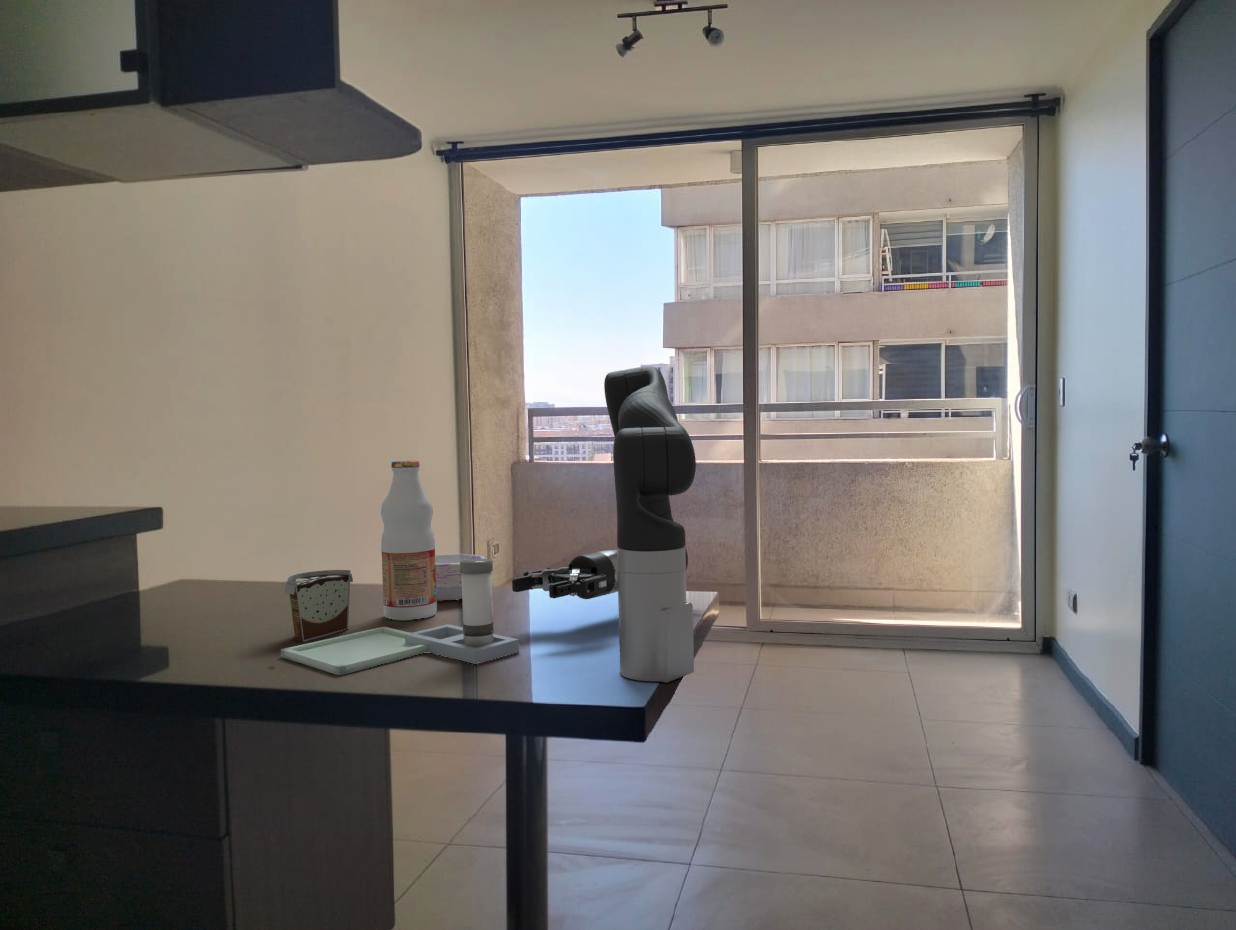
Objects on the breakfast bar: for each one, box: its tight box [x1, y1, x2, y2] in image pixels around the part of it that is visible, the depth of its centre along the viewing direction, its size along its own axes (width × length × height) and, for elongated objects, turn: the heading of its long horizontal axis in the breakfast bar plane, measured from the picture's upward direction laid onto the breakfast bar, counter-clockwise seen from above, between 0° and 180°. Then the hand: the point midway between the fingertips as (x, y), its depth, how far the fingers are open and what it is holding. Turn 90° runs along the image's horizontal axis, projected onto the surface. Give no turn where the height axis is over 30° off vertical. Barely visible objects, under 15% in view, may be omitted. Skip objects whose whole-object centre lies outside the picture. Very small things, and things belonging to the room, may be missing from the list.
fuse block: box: [405, 623, 520, 664], centre depth 134 cm, size 17×8×2 cm, turn 49°
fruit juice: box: [380, 460, 438, 621], centre depth 158 cm, size 9×9×28 cm
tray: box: [280, 626, 427, 676], centre depth 133 cm, size 16×18×1 cm
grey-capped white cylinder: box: [460, 558, 495, 648], centre depth 131 cm, size 5×5×14 cm
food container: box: [284, 569, 354, 643], centre depth 146 cm, size 12×6×10 cm, turn 149°
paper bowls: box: [435, 553, 487, 602], centre depth 175 cm, size 15×15×8 cm
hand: (531, 588), depth 139 cm, fingers open, 8 cm apart
